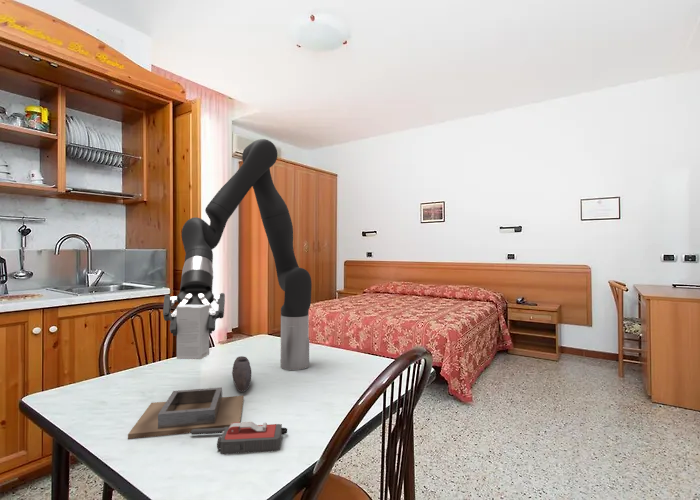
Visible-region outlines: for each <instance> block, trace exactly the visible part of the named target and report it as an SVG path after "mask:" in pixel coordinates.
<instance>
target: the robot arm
mask: <svg viewBox="0 0 700 500" xmlns="http://www.w3.org/2000/svg"><path fill="white" fill-rule="evenodd" d="M241 156H242V157H241V159H242V162H243V163H242V164H241V166H240V167H239V168H238V169H237V170H236V172H235V173H234V174H233V175H232V176H231V177H230V179H228V180H227V182H226V183H225V184H224V185H222V187H220V189H219V190H218V192H217V193H216V194H214V196H213V198H211V201H210V202H208V204H207V206H206V207H205V209H204V210H205V214H206V216H207V217H208V218H209V222H210V223H209V224H208V223H207V221H205V220H204V219H202V218H200V217H191V218H189V219H188V220H186V221H185V223H184V224H183V226H182V229H181V240H182V245H183V250H184V252H185V255H184V264H183V267H182V270H181V271H182V273H181V281H180V287H179V293H178V294H177V295H176V296H175V295H174V296H171V295H170V294H169V293H168V294H165V295H164V297H163V298H164V299H163V308H162V309H163V310H162V315H163V319H164V321H165V322H168V321H170V323H169V332H170V334H172V336H173V337H174V336H175V337H177V307H178V306H182V305H186V304H187V305H209V327H208V331H209V335H210V334H211V335H212V333H213V332H215V330H216V322H217V321H216V320H217V319H223V318H224V316H225V315H224V314H225V303H226V301H225V299H226V296H225V293H224V292H221V293H219V294H216V295H215V294H214V293H213V281H214V266H213V264H214V263H213V261H214V253H213V250H214V249H215V248H216V247H217V246H218V244H219V243H220V241H221V239H222V236H223V234H224V230H225V227H226V226H227V223H228V221H229V219H230V217H231V216H232V215H233V213H234V212H235V211H236V209H237V208H238V207H239V205H240V203H241V202H242V201H243V199H245V196H247V194H248V193H249V191H250V190H251V189H252V188H253V192H254V196H255V197H254V198H255V200H256V203H257V207H258V211H259V213H260V215H259V216H260V219H261V221H262V225H263V228H264V232H265V234H266V235H265V236H266V237H267V240H268V244H269V247H270V250H271V252H272V256H273V259H274V264H275V270H276V275H277V282H278V285H279V288H281V290H282V291H283V292H284V299H283V305H282V306H281V307H280V368H281V369H283V370H286V371H299V370H303V369H309V368H310V338H309V327H310V326H309V325H310V324H309V321H310V320H309V314H310V313H309V312H310V311H309V310H310V307H311V304H312V285H313V284H312V277H311V274H310V272H309V271H308V270H306V269H305V268H303V267H300V266H299V264H298V262H297V258H296V256H295V252H294V228H293V222H292V218H291V214H290V210H289V208H288V206H287V204H286V201H285V200H284V199H283V197H282V196H281V194H280V193H279V191H278V190H277V188H276V187H275V183H274V181H273V177H272V174H271V169H270V168H272V167H273V166H274V165H275V163H276V162H277V160H278V156H279V155H278V149H277V147H276V145H275V144H274V143H273V142H272V141H271V140H268V139H265V138H261V139H260V138H259V139H256V140H255V141H253V142H251V143H250V144H248V145H247V146H246V147H244V149H243V152H242V155H241ZM214 301H215V303H216V304H217V305H218V309H217V310H214V308H213V307H212V303H213V302H214ZM175 303H178V304H177V306H176V308H175V309H174V310H173V312H171V307H173V306H174V305H175Z"/></svg>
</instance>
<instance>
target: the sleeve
mask: <svg viewBox="0 0 700 500" xmlns="http://www.w3.org/2000/svg"><path fill="white" fill-rule="evenodd" d="M222 391H223V386H221V387H208V388H195V389H181V390H173V391H172V393H171V394H170V395H169V397H168V399H166V401H165V402H166V403H165V405H164V406H163V408H162V409H161V411H160V412H159V414H158V429H159V428H169V427H180V426H191V425H202V424H213V423H215V421H216V417H217V414H218V410H219V407H220V404H221V400H222V397H223V392H222ZM204 402H212V403H211V406H210V408H202V409H190V410H178V411H174V410H175V408H176V406H177V405H179V404H191V403H204Z"/></svg>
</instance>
